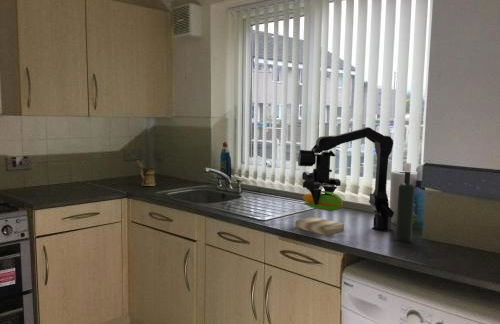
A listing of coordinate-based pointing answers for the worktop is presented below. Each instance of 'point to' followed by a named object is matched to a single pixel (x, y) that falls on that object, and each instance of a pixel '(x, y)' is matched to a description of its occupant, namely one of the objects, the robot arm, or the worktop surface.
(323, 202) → the corn
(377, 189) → the robot arm
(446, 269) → the worktop surface
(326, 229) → the birch base
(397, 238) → the wine bottle
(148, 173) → the wooden mug
